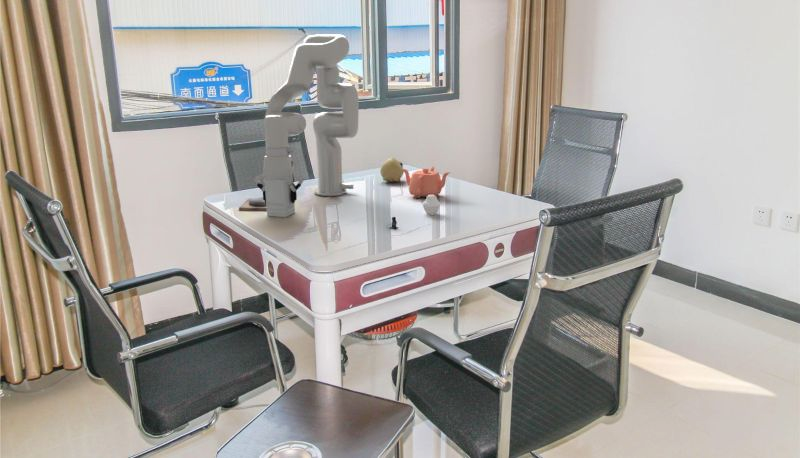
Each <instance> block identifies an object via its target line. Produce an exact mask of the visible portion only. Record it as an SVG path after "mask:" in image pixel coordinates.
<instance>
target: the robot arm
mask: <svg viewBox="0 0 800 458" xmlns="http://www.w3.org/2000/svg"><path fill="white" fill-rule="evenodd" d="M349 52H350V43H349V40H348V38H347V37H346V36H345V35H342V34H314V35H313V34H312V35H308V36H307V37H305V39H304V40H303V43H302V44H301V43H300V44H298V45H297V46H296V47H295V49H294V51H293V55H292V60H291V63H290V67H289V71H288V75H287V78H286V82H285V83H284V84H283V85H281V86H280V87H279V88H278V89H277V90H276V92H275V93H274V94H273V95H272V96H271V98H270V99H269V101H268V104H267V107H266V110H265V114H264V120H263V121H264V123H263V125H264V139H265V155H264V157H263V158H264V159H263V170H262V171H263V172H262V173H261V174H260V175H257V176H256V177H255V178H254V177H253V181H254V183H255V184H256V185H257V187H258V188H259V189H260V191H261V192H262V197H263V200H265V203H266V193H265V181H264V180H286V181H287V185H288V186H289V187H290V188H291V189H292V192H291V202H292V203H294V204H295V202H296V201H297V199H298V198H297V196H298V195H297V190H298V189H299V188H300V187H301V186H302V184H303V183H304V181H305V178H304V177H302V176H301V175H299V174H297V173H295V167H294V162H293V161H294V160H293V157H292V155H290V154H292V153H294V149H293V148H290V146H289V136H291V135H292V136H297V135H298V136H299V135H300V134H302V133H304V131H305V129H306V127H307V122H306V121H307V120H306V118H305V116H304V115H303V114H301V113H298V112H287V111H283V108H285V106H286V105H287V104H288V103H289V102H291V101H293V100H294V99H297V98H299V97H302V96H303V95H306V94H307V93H309V91H310V90H311V87H312V84H313V80H314V75H315V71H316V98H317V104H318V105H319V107H321V108H324V109H335V110H342V112H335V111H334V112H333V111H332V112H331V111H322V112H319V113H317V114H315V116H314V118H313V122H312V126H313V127H312V128H313V131H314V136H315V137H314V138H315V144H316V161H317V162H316V163H317V165H316V166H317V185H318V186H317V188H316V189H314V194H315V195H317V196H323V197H336V196H343V195H345V194H347V190H354V184H353V183H345V182H344V181H345V180H344V179H343V168H342V166H343V165H342V164H343V163H342V146H341V144H340V142H339V140H338V138H339V139H353V138H354V137H356V136H357V133H358V131H359V109H360V108H359V107H360V106H359V105H360V104H359V100H360V99H359V92H358V90H357V88H356V87H355V85H354V84H352V83H345V82H344V83H340V68H339V66H338V64H339V63H340V62H342V61H343V60H345V58H347V56H348V54H349ZM261 179H263V180H262V181H263V183H262V182H261V181H260V180H261ZM295 180H297V181H298V182H297V184H295Z"/></svg>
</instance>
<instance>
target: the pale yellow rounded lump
mask: <svg viewBox="0 0 800 458" xmlns="http://www.w3.org/2000/svg"><path fill="white" fill-rule="evenodd" d="M402 169H404V166H403V163H402V162H400V161H399V160H397V159H396V158H394V157H390V158H388V159H387V160H386V161H384V163H383V164H382V166H381V168H380V169H379V170H380V175H381V177H382V180H383V182H384V181H385V182H400V181H401V178H402V177H403V176H404V174H405V172H404V171H403V170H402Z"/></svg>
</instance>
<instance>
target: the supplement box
mask: <svg viewBox="0 0 800 458" xmlns="http://www.w3.org/2000/svg"><path fill="white" fill-rule="evenodd" d="M264 181H265V184H264V185H265V193H266V207H267V211H266V216H267V217H279V218H286V217H289V216H291V215H292V214H294V213H296V207H295V205H296V204H295V202H294V203H292V202H291V192H292V189H291V188H290V187H289V186H288V185H287V181H286V180H264Z"/></svg>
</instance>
